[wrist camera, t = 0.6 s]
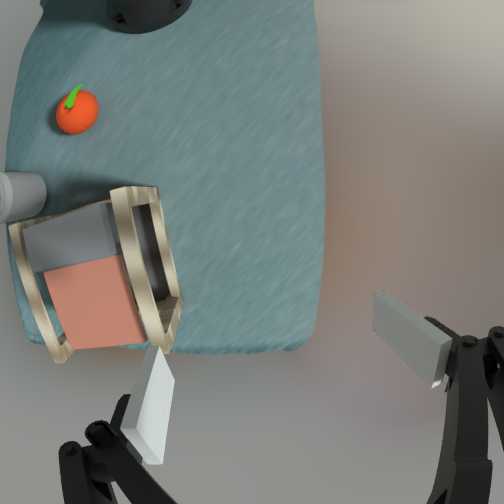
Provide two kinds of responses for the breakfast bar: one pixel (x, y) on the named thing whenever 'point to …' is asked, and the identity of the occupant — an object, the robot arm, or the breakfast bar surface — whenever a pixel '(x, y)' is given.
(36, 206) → the can
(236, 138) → the breakfast bar surface
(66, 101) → the clementine
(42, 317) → the frame
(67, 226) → the grey and pink block
